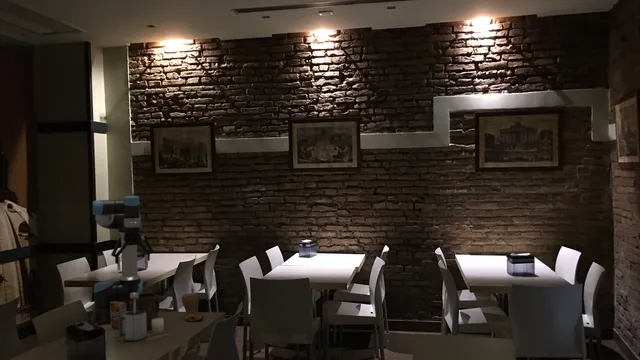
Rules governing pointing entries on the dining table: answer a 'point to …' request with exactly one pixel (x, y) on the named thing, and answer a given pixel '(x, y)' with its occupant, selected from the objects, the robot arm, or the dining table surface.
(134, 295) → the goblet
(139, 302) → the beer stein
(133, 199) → the robot arm
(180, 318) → the dining table surface
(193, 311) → the brown boot
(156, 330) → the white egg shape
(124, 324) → the grey octagonal container
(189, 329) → the dining table surface
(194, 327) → the dining table surface
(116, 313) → the candy box
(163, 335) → the serving board
